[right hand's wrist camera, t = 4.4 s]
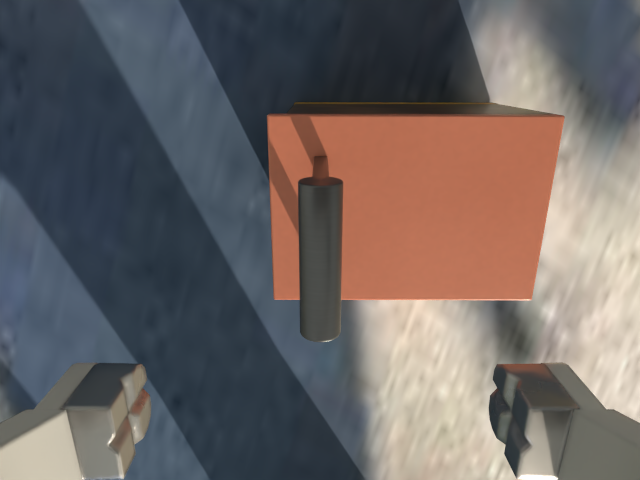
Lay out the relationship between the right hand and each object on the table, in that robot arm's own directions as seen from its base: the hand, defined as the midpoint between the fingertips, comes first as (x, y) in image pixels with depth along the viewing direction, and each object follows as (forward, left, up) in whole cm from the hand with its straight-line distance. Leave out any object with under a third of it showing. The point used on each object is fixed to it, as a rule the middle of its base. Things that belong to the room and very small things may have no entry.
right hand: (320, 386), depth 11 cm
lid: (+2, +4, -15) cm, 16 cm away
